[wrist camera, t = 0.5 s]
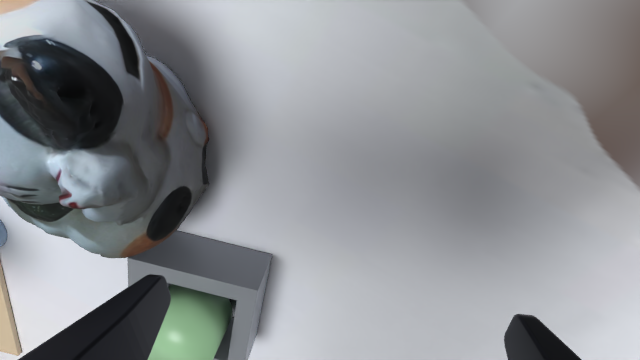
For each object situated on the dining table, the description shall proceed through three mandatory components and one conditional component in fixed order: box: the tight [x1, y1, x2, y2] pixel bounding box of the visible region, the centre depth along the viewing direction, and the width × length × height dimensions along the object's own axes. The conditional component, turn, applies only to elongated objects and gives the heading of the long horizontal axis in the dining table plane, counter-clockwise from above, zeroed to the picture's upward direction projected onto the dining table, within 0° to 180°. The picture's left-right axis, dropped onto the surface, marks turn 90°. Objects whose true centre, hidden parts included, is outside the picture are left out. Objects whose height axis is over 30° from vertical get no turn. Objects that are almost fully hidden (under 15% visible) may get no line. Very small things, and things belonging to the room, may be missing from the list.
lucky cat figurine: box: [0, 0, 209, 258], centre depth 16 cm, size 15×12×14 cm
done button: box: [148, 284, 233, 360], centre depth 23 cm, size 5×5×4 cm
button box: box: [128, 231, 272, 360], centre depth 26 cm, size 9×9×4 cm
